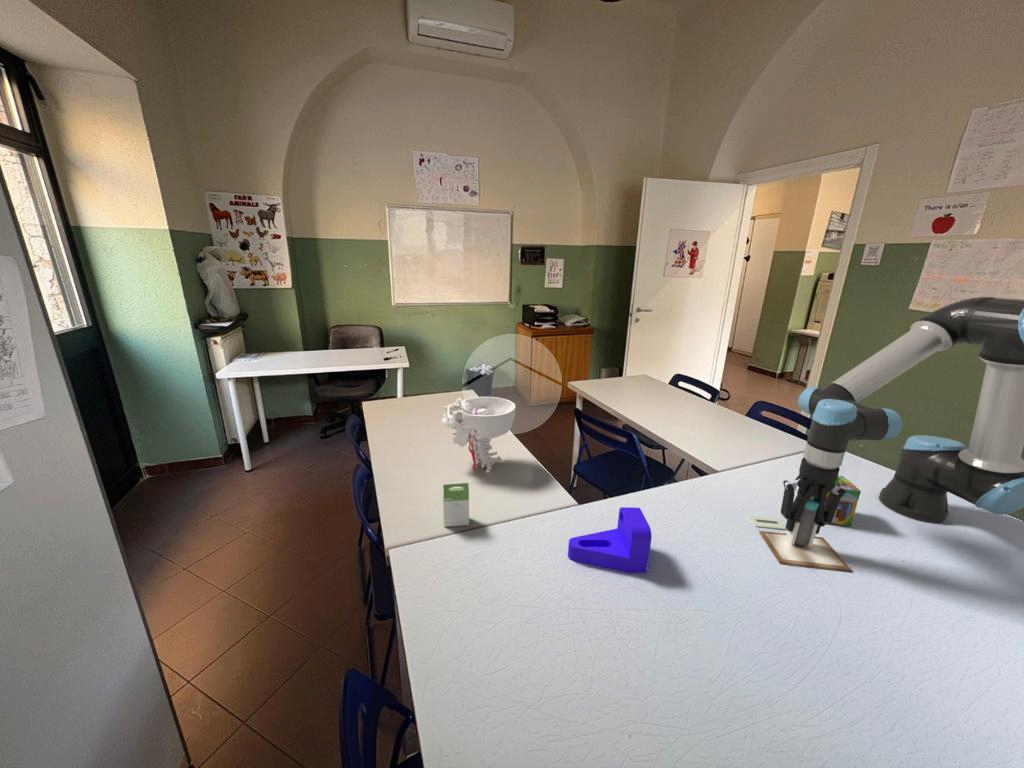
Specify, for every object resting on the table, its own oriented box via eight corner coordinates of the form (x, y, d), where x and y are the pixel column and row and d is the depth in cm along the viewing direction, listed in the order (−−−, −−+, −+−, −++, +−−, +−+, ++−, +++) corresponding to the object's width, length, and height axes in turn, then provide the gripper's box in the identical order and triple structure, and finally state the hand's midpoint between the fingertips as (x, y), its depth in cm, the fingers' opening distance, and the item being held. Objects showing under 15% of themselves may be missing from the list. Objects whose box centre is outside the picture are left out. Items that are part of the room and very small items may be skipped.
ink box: (469, 517, 115) (468, 475, 111) (469, 525, 111) (468, 483, 107) (444, 518, 114) (443, 476, 110) (444, 527, 110) (442, 484, 106)
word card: (777, 519, 117) (777, 517, 117) (785, 530, 112) (786, 528, 112) (747, 516, 118) (748, 514, 118) (755, 526, 113) (755, 525, 113)
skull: (510, 452, 153) (511, 395, 147) (517, 477, 136) (519, 414, 129) (444, 455, 150) (442, 397, 143) (442, 482, 132) (440, 417, 125)
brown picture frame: (822, 539, 109) (823, 537, 108) (851, 572, 97) (852, 569, 97) (758, 532, 111) (759, 530, 110) (779, 563, 99) (780, 561, 99)
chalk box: (851, 527, 114) (866, 481, 109) (814, 522, 116) (828, 477, 111) (834, 508, 122) (847, 465, 118) (800, 504, 124) (812, 461, 120)
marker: (801, 539, 107) (814, 496, 103) (809, 549, 103) (822, 505, 99) (786, 538, 107) (798, 495, 103) (794, 547, 104) (806, 503, 100)
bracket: (632, 542, 106) (637, 503, 103) (646, 573, 96) (652, 531, 92) (564, 541, 106) (567, 503, 102) (571, 573, 95) (574, 531, 92)
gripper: (848, 457, 101) (824, 536, 108) (777, 452, 103) (758, 529, 110) (869, 472, 93) (842, 555, 101) (792, 466, 96) (771, 548, 103)
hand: (798, 541), depth 105 cm, fingers closed on marker, 3 cm apart
